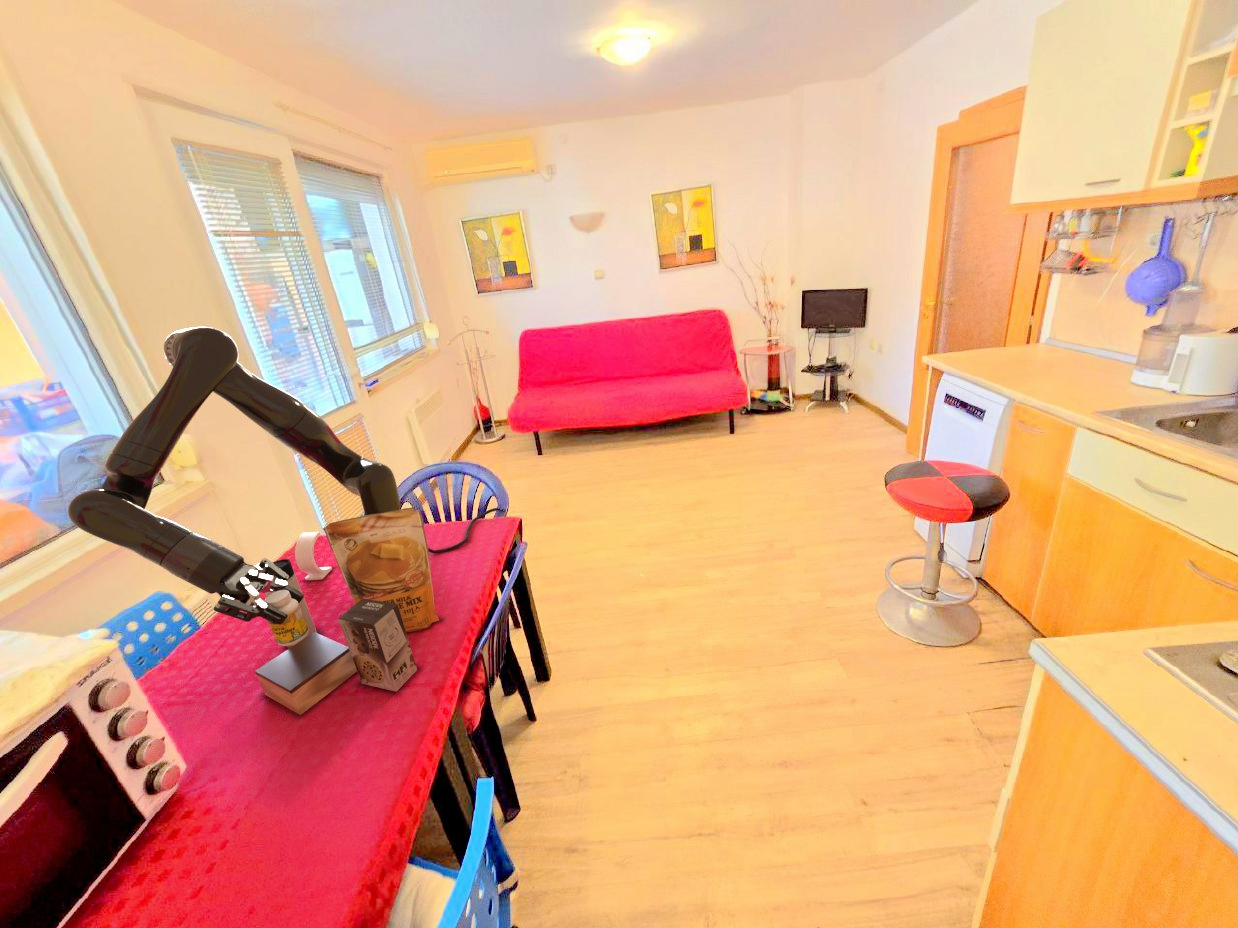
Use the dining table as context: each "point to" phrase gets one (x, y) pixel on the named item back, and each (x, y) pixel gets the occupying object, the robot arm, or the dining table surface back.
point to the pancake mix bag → (387, 562)
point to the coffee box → (378, 644)
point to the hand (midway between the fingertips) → (292, 609)
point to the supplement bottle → (287, 619)
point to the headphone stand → (309, 557)
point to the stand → (306, 672)
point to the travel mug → (294, 583)
